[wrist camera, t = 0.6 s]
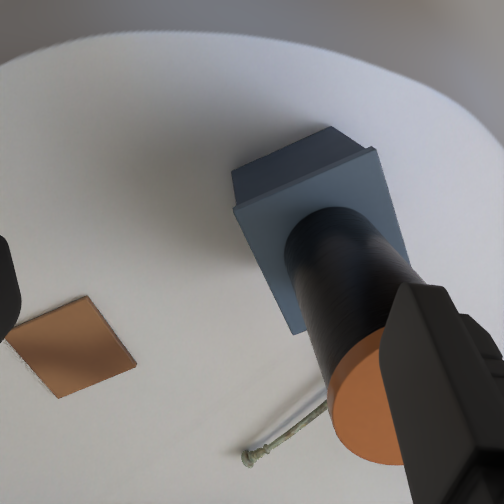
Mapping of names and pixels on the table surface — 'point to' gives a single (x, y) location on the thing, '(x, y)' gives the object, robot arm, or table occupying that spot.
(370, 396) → the tin
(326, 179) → the lidded box
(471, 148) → the table surface
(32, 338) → the coaster
